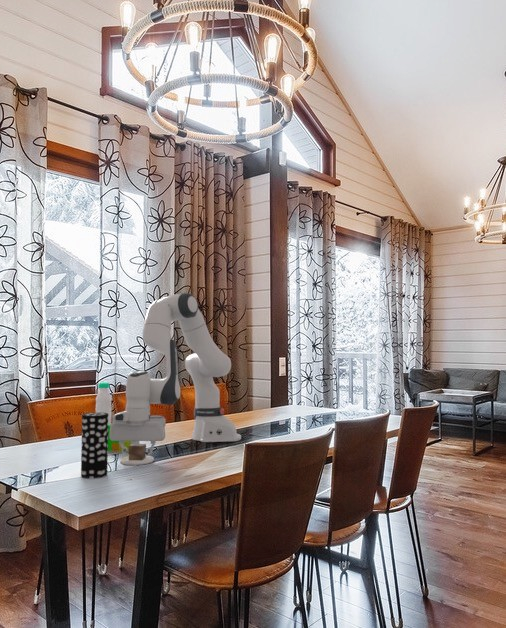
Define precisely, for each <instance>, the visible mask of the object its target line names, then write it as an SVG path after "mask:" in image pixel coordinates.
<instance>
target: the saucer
mask: <svg viewBox="0 0 506 628" xmlns="http://www.w3.org/2000/svg"><path fill="white" fill-rule="evenodd" d="M154 461H155V457H153V455H148V454H146V457H145V458H144V459H143V460H129V455H128V456H123V457H121V458H120V459H119V462H120V464H121V465H124V466H144V465H149V464H152V463H154Z"/></svg>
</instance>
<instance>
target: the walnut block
mask: <svg viewBox="0 0 506 628" xmlns="http://www.w3.org/2000/svg"><path fill="white" fill-rule="evenodd" d="M146 455H147V443H140V444H131V445H130V446H129V451H128V456H129V460H143V459H144V458H145V457H146Z"/></svg>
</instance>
